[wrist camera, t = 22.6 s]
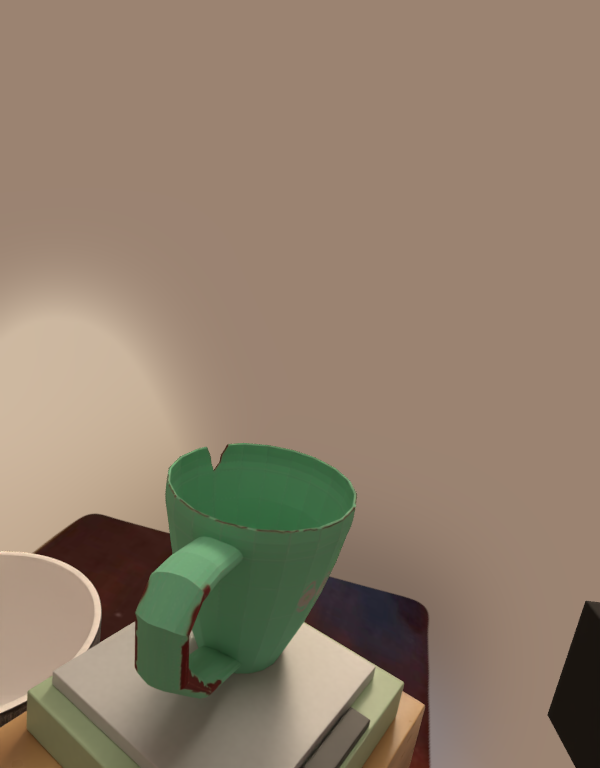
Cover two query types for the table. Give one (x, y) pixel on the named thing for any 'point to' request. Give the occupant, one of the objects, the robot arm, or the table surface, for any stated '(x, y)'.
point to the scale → (216, 711)
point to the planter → (41, 623)
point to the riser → (385, 764)
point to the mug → (238, 563)
